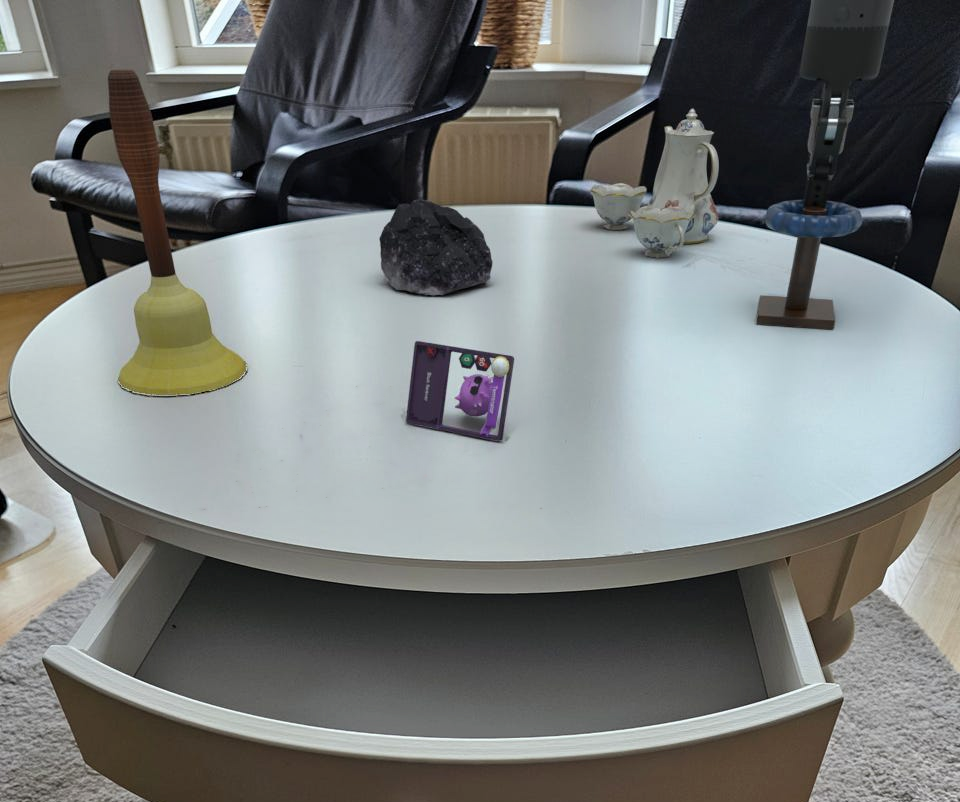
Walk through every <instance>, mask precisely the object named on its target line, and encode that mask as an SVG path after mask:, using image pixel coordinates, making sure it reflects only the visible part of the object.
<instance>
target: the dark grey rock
mask: <svg viewBox="0 0 960 802" xmlns="http://www.w3.org/2000/svg"><path fill="white" fill-rule="evenodd" d="M379 247H380V253H379V254H380V269H381V271H382V273H383V275H384V277H385V278H386V280H387V281H388V283H389V286H391V287H392V288H393V289H395V290H397V291H406V292H407V291H408V292H410V293H413V292H415V293H414V294H417V293H419V294H418V295H421V294H425V295H424V296H427V295H441V296H444V295H446V294H450V293H453V292H457V291H459V290H463V289H466V288H470V287H475V286H478V285H481V284H485V283H486V282H488V281H490V280H491V275H492V273H491V272H492V268H493V262H494V261H493V259H492V252H491V249H490V247H489V246H488V244H487V241H486V239H485V235H484V233H483V231H482V230H481V229H480V227H478V225H477V224H476V223H474V222H473V221H472V220H471V219H470V218H469V217H464V216H463V215H462V214H461V213H460V212H459V211H458V210H457V209H455V208H452V207H450V206H442V205H440V204H438V203H435V202H432V201H429V200H427V199H414V200H412V202H411V203H410V204H409V203H405V202H404V203H402V204H399V205H398V206H397V207H396V208H395V210H394V212H393V214H392V216H391V218H390V221H388V222H387V223H386V224H385V226H384V227H383V229H382V231H381V234H380V236H379Z"/></svg>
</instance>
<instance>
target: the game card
mask: <svg viewBox="0 0 960 802" xmlns="http://www.w3.org/2000/svg"><path fill="white" fill-rule="evenodd" d="M452 353H457V354H458V353H459V354H460V356H459V358H458V361H459V363H460V367H461V368H462V369H466V370H467V369H468V370H471V369H472V368H473V367H474V365H475V368H476V370H477V371H479V372H486V373H487V371H488V370H489V368H491V372H492V373H493V376H490V375H483V374H480V373H477V374H471V375H470V376H465V375H463V376H462V378H463V382H462V383H461V385H460V389H459V395H457V396H455V397H454V399H455V400H457V401H458V404H456V405H454V408H455V409H457V410H461V411H462V413H464V414H465V415H467V416H469V417H471V418H473V417H474V418H478V417H482V416H484V415H486V420H485V424H484V425H483V427H482V428H481V430H480V431H475V430H471V429H465V428H460V427H455V426H450V425H445V424H443V421H444V413H445V405H446V398H447V389H448V382H449V375H450V366H451V358H452ZM491 359H492V361H491ZM514 365H515V357H514V356H513V355H509V354H503V353H496V352H490V351H484V350H477V349H472V348H471V349H470V348H464V347H457V346H451V345H447V344H446V345H445V344H440V343H433V342H427V341H420V340H416V341H415V342H414V345H413V356H412V364H411V372H410V381H409V390H408V396H407V397H408V399H407V407H406V417H405V423H407V424H411V425H415V426H420V427H424V428H429V429H435V430H438V431H439V430H440V431H444V432H449V433H455V434H460V435H465V436H470V437H475V438H480V439H485V440H490V441H496V442H501V441H502V440H503V438H504V432H505V425H506V418H507V413H508V412H507V411H508V404H509V398H510V391H511V384H512V379H513V378H512V377H513V371H514ZM504 382H505V383H504ZM503 386H504V387H503ZM502 394H503V396H502ZM501 400H502V404H501ZM500 406H501V408H500ZM500 409H501V410H500ZM499 410H500V411H499ZM499 412H500V417H499V423H498V429H497V434H491V430H492V429H496V427H497V421H498V416H499Z"/></svg>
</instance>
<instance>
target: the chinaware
mask: <svg viewBox="0 0 960 802" xmlns="http://www.w3.org/2000/svg"><path fill="white" fill-rule="evenodd" d="M685 117H686V119H683V120H681V121H680V122H679V123H678V125H677V126H676V129H673V127H672V126H671V125H668V126H664V133H665V141H664V147H663V151H662V154H661V157H660V160H659V164H658V168H657V171H656V174H655V179H654V184H653V189H652V196H651V198H650V199H649V201H648V203H647V204H646V205H644V206H641V205H642V202H643V199H644V198H645V196H646V194H647V191H648V188H647V187H646V186H645V185H641V186H640V185H639V186H637V187H633V186H631V185H630V184H627V183H623V182H619V183H613V184H612V185H610V186H604V185H602V184H594V185H593V186H592V187H591V189H590V190H589V193H590V195H592V198H593V202H594V203H593V204H594V208H595V210H596V213H597V215H598V216H599V217H600V218H601V219H602V221H604V222H606V223H607V224H604V225H603V228H605V229H607V230H615V231H616V230H620V231H622V230H625V229H628V228H629V225H626V223H627V222H629V221H631V220H632V222H633V229H634V233H635V236H636V238H637V240H638V242H639V243H640V244H641V246H643V247H644V248H646V249H647V250H646V251H645V254H644V255H645V257H651V258H657V259H659V258H666V257H667V258H668V257H670V256H671V254H672V251H674V252H679V251H680V250H682V248H683V245H694V244H700V243H703V242H706V241H707V240H708V238H709V237H708V234H709V233H710V232H711V231H712V230H713V229H714V228H715V227H716V225H717V224H718V222H719V218H720V217H719V213H718V210H717V207H716V204H715V202H714V199H713V198H712V195H711V192H712V191H713V190H714V188H715V186H716V185H717V180H718V177H719V170H720V169H719V168H720V167H719V166H720V164H719V156H718V152H717V150H716V148H715V147H714V145H713V144H711V140H712V137H713V135H714V134H715V131H712V130H707V129H705V126H704V124H703V122H702V121H701V120H700V119H697V117H698V114H697V113H696V110H695V109H694V108H690V110H689V111H688V113H687V114H686V115H685ZM708 154H709V155H710V160H711V174H710V178H709V182H708V175H707V162H708V161H707V160H708ZM677 245H678V247H677V248H676V247H675V246H677Z"/></svg>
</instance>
